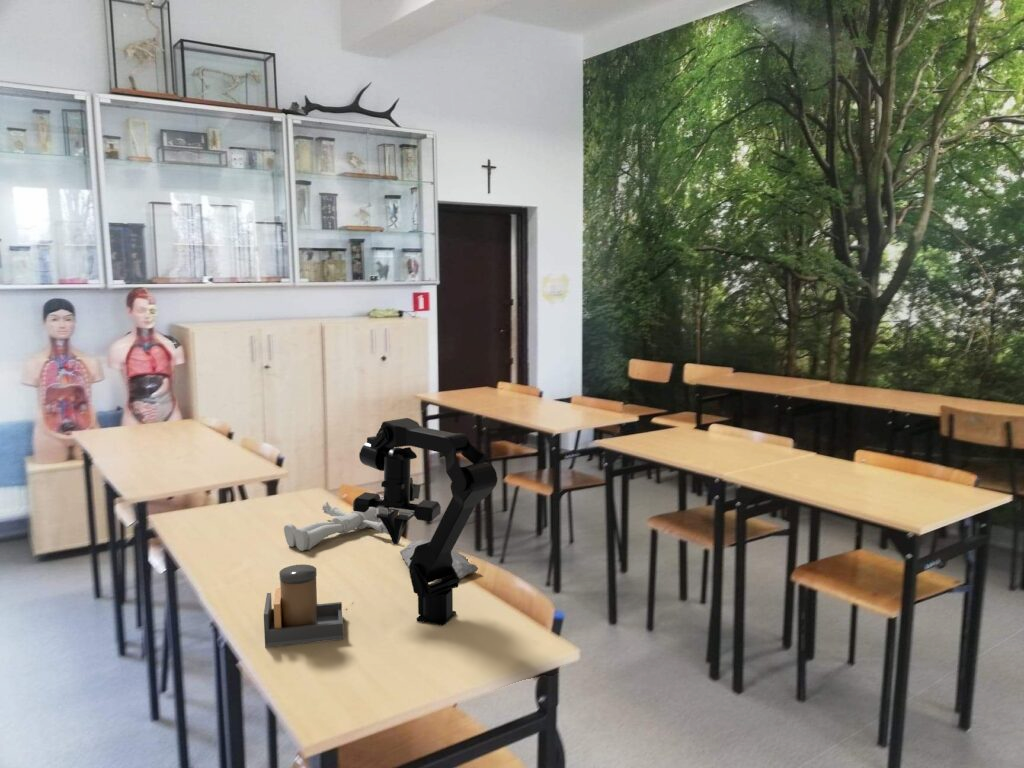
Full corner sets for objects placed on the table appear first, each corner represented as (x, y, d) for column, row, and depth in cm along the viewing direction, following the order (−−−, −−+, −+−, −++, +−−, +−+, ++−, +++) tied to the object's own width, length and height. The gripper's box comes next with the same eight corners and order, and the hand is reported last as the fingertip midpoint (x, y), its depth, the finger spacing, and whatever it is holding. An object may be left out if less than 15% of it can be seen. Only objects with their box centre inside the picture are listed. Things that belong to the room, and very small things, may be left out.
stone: (490, 575, 192) (431, 548, 211) (491, 554, 191) (432, 528, 210) (437, 590, 182) (381, 560, 201) (438, 567, 181) (381, 539, 200)
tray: (341, 616, 167) (341, 586, 166) (343, 639, 157) (342, 606, 156) (268, 624, 164) (267, 593, 163) (265, 647, 153) (263, 614, 152)
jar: (320, 619, 164) (318, 563, 162) (315, 635, 157) (313, 577, 155) (285, 621, 163) (283, 565, 161) (278, 637, 156) (276, 578, 154)
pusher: (283, 620, 163) (281, 587, 162) (281, 637, 155) (279, 604, 154) (277, 620, 163) (275, 588, 162) (275, 638, 155) (273, 604, 154)
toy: (258, 513, 218) (346, 485, 240) (261, 541, 219) (348, 511, 241) (331, 540, 196) (420, 506, 218) (333, 571, 198) (421, 534, 220)
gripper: (450, 470, 177) (448, 536, 179) (374, 461, 181) (373, 526, 184) (431, 484, 166) (430, 554, 169) (351, 474, 171) (351, 542, 174)
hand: (396, 543), depth 174 cm, fingers closed
